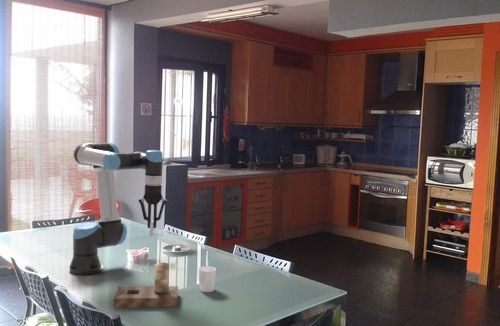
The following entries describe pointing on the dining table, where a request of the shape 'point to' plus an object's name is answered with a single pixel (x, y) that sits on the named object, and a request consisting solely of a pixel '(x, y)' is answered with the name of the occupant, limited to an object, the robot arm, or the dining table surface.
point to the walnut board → (145, 297)
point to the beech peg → (161, 278)
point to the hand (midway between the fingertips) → (151, 234)
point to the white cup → (207, 278)
